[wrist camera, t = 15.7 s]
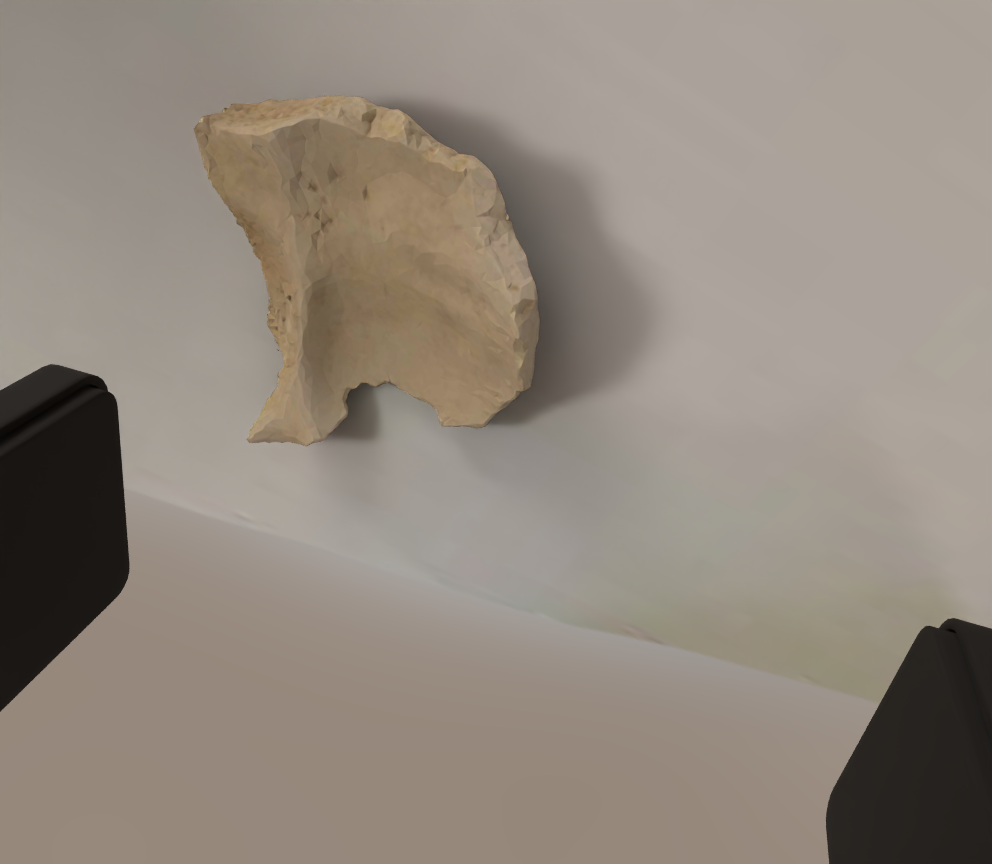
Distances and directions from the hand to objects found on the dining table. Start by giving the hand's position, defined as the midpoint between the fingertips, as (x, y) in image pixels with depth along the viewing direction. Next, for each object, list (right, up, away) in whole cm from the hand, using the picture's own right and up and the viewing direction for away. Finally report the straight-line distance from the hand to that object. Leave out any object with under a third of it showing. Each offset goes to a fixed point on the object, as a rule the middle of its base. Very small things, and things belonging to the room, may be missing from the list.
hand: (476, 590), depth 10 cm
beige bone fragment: (-5, +9, +33) cm, 34 cm away
